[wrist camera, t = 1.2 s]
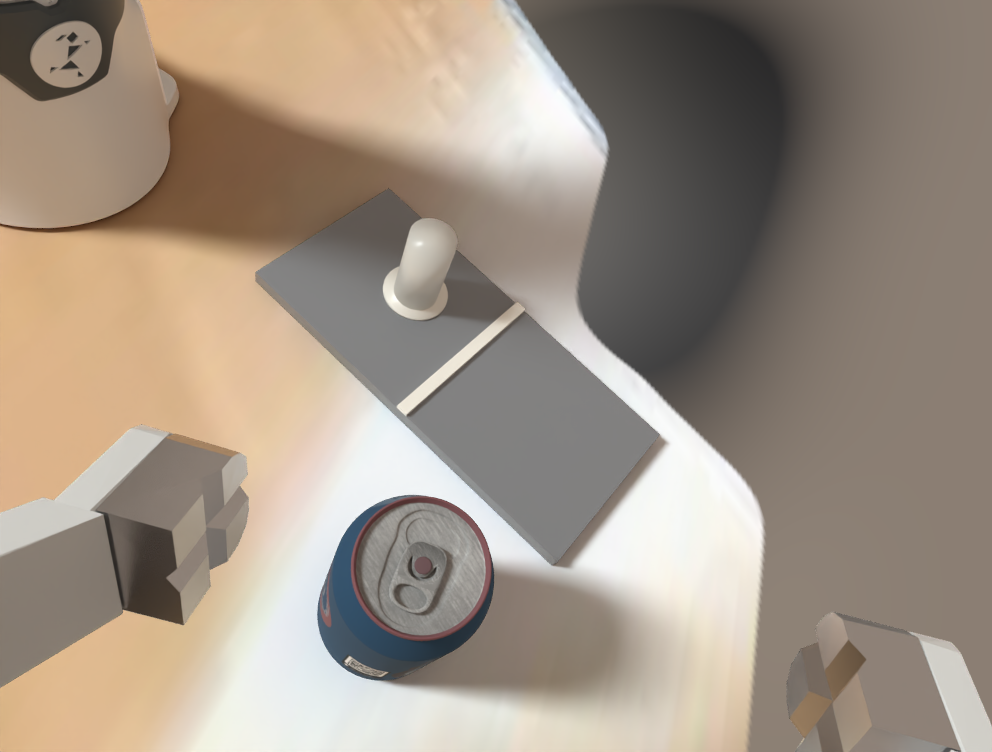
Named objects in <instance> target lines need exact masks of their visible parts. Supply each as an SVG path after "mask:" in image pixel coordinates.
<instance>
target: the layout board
mask: <svg viewBox="0 0 992 752" xmlns="http://www.w3.org/2000/svg"><path fill="white" fill-rule="evenodd" d="M457 246H458V237H457V235H456V233H455V231H454V230H453V228H452V227H451V226H450V225H448V224H447V223H445V222H443V221H441V220H439V219H435V218H424V219H422V218H421V217H420V216H419V215H418V214H417V213H415V212H414V211H413V210H412V209H411V208H410V207H409V206H408V205H407V204H406V203H404V202H403V201H402V200H401V199H400V198H399V197H398V196H397V195H396V194H395V193H393V192H392V191H391V190H390V189H389V188H388V189H387V190H385V191H384V192H382V193H380V194H379V195H377V196H376V197H374V198H372V199H371V200H369V201H368V202H366V203H364V204H363V205H361V206H360V207H358V208H357V209H355V210H353V211H352V212H350V213H349V214H347V215H345V216H344V217H342V218H341V219H339V220H337V221H336V222H334V223H333V224H331V225H330V226H328V227H326V228H325V229H323V230H322V231H320V232H318V233H317V234H315V235H314V236H312V237H310V238H309V239H307V240H306V241H304V242H303V243H301V244H299V245H298V246H296V247H295V248H293V249H291V250H290V251H288V252H287V253H285V254H283V255H282V256H280V257H279V258H277V259H276V260H274V261H272V262H271V263H269V264H268V265H266V266H264V267H263V268H261V269H260V270H258V271H256V282H257V283H258V284H259V285H260V286H261V287H262V288H263V289H264V290H266V291H267V292H268V293H269V294H270V295H271V296H272V297H273V298H274V299H275V300H276V301H277V302H278V303H279V304H280V305H281V306H282V307H283V308H284V309H285V310H286V311H287V312H288V313H289V314H290V315H292V316H293V317H294V318H295V319H296V320H297V321H298V322H299V323H300V324H301V325H302V326H303V327H304V328H305V329H306V330H307V331H308V332H309V333H310V334H311V335H312V336H313V337H314V338H315V339H317V340H318V341H319V342H320V343H321V344H322V345H323V346H324V347H325V348H326V349H327V350H328V351H329V352H330V353H331V354H332V355H333V356H334V357H335V358H336V359H337V360H338V361H339V362H340V363H341V364H343V365H344V366H345V367H346V368H347V369H348V370H349V371H350V372H351V373H352V374H353V375H354V376H355V377H356V378H357V379H358V380H359V381H360V382H361V383H362V384H363V385H364V386H365V387H366V388H367V389H369V390H370V391H371V392H372V393H373V394H374V395H375V396H376V397H377V398H378V399H379V400H380V401H381V402H382V403H383V404H384V405H385V406H386V407H387V408H388V409H389V410H390V411H391V412H392V413H394V414H395V415H396V416H397V417H398V418H399V419H400V420H401V421H402V422H403V423H404V424H405V425H406V426H407V427H408V428H409V429H410V430H411V431H412V432H413V433H414V434H415V435H416V436H417V437H418V438H420V439H421V440H422V441H423V442H424V443H425V444H426V445H427V446H428V447H429V448H430V449H431V450H432V451H433V452H434V453H435V454H436V455H437V456H438V457H439V458H440V459H441V460H442V461H443V462H445V463H446V464H447V465H448V466H449V467H450V468H451V469H452V470H453V471H454V472H455V473H456V474H457V475H458V476H459V477H460V478H461V479H462V480H463V481H464V482H465V483H466V484H467V485H468V486H469V487H471V488H472V489H473V490H474V491H475V492H476V493H477V494H478V495H479V496H480V497H481V498H482V499H483V500H484V501H485V502H486V503H487V504H488V505H489V506H490V507H491V508H492V509H493V510H494V511H495V512H497V513H498V514H499V515H500V516H501V517H502V518H503V519H504V520H505V521H506V522H507V523H508V524H509V525H510V526H511V527H512V528H513V529H514V530H515V531H516V532H517V533H518V534H519V535H520V536H522V537H523V538H524V539H525V540H526V541H527V542H528V543H529V544H530V545H531V546H532V547H533V548H534V549H535V550H536V551H537V552H538V553H539V554H540V555H541V556H542V557H543V558H544V559H545V560H546V561H548V562H549V563H550V564H551V565H553V564H555V563H556V562H558V561H559V559H560V558H561V557H562V556H563V554H564V553H565V552H566V551H567V550H568V548H569V547H570V546H571V545H572V543H573V542H574V541H575V540H576V538H577V537H578V536H579V535H580V533H581V532H582V531H583V530H584V528H585V527H586V526H587V525H588V523H589V522H590V521H591V520H592V518H593V517H594V516H595V515H596V513H597V512H598V511H599V510H600V509H601V507H602V506H603V505H604V504H605V502H606V501H607V500H608V499H609V497H610V496H611V495H612V494H613V492H614V491H615V490H616V489H617V487H618V486H619V485H620V484H621V482H622V481H623V480H624V479H625V477H626V476H627V475H628V474H629V472H630V471H631V470H632V469H633V467H634V466H635V465H636V464H637V463H638V461H639V460H640V459H641V458H642V456H643V455H644V454H645V453H646V451H647V450H648V449H649V448H650V446H651V445H652V444H653V443H654V441H655V440H656V439H657V438H658V436H659V435H660V434H659V433H657V432H656V431H655V430H654V429H653V428H652V427H651V426H650V425H649V424H648V423H646V422H645V421H644V420H643V419H642V418H641V417H640V416H639V415H638V414H637V413H635V412H634V411H633V410H632V409H631V408H630V407H629V406H628V405H627V404H626V403H624V402H623V401H622V400H621V399H620V398H619V397H618V396H617V395H616V394H615V393H613V392H612V391H611V390H610V389H609V388H608V387H607V386H606V385H605V384H604V383H602V382H601V381H600V380H599V379H598V378H597V377H596V376H595V375H594V374H593V373H591V372H590V371H589V370H588V369H587V368H586V367H585V366H584V365H583V364H582V363H580V362H579V361H578V360H577V359H576V358H575V357H574V356H573V355H572V354H571V353H569V352H568V351H567V350H566V349H565V348H564V347H563V346H562V345H561V344H560V343H558V342H557V341H556V340H555V339H554V338H553V337H552V336H551V335H550V334H549V333H547V332H546V331H545V330H544V329H543V328H542V327H541V326H540V325H539V324H538V323H536V322H535V321H534V320H533V319H532V318H531V317H530V316H529V315H528V314H527V313H525V312H524V311H525V308H524V307H523V306H522V305H521V304H519V303H518V302H516V303H514V302H513V301H512V300H511V299H510V298H509V297H508V296H507V295H506V294H505V293H503V292H502V291H501V290H500V289H499V288H498V287H497V286H496V285H495V284H494V283H492V282H491V281H490V280H489V279H488V278H487V277H486V276H485V275H484V274H483V273H481V272H480V271H479V270H478V269H477V268H476V267H475V266H474V265H473V264H472V263H470V262H469V261H468V260H467V259H466V258H465V257H464V256H463V255H462V254H461V253H459V252H458V251H457V250H456V249H457Z"/></svg>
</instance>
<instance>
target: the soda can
mask: <svg viewBox="0 0 992 752" xmlns="http://www.w3.org/2000/svg"><path fill="white" fill-rule="evenodd" d="M493 588H494V569H493V562H492V558H491V554H490V551H489V548H488V544H487V542H486V539H485V537H484V535H483V533H482V532H481V530H480V528H479V527H478V525H477V524H476V523H475V522H474V521H473V519H472V518H471V517H470V516H469V515H468V514H466V513H465V512H464V511H463V510H461V509H460V508H459V507H457V506H455V505H453V504H451V503H449V502H447V501H445V500H442V499H438V498H434V497H428V496H421V495H404V496H398V497H393V498H390V499H387V500H384V501H382V502H379V503H377V504H375V505H374V506H372V507H370V508H369V509H367V510H366V511H364V512H363V513H362V514H361V515H360V516H359V517H357V518H356V519H355V521H354V522H353V523H352V524H351V525H350V527H349V528H348V529H347V531H346V532H345V534H344V536H343V537H342V539H341V541H340V544H339V546H338V548H337V551H336V554H335V556H334V559H333V561H332V564H331V567H330V569H329V572H328V574H327V577H326V580H325V582H324V585H323V588H322V590H321V593H320V597H319V602H318V612H317V616H318V626H319V631H320V634H321V637H322V640H323V642H324V645H325V647H326V648H327V650H328V652H329V653H330V654H331V656H332V657H333V658H334V659H335V660H336V661H337V663H338V664H340V665H341V666H342V667H343V668H345V669H346V670H348V671H349V672H351V673H353V674H355V675H357V676H360V677H362V678H366V679H371V680H392V679H397V678H400V677H403V676H406V675H408V674H410V673H412V672H414V671H416V670H418V669H420V668H422V667H424V666H425V665H427V664H429V663H431V662H433V661H435V660H437V659H439V658H441V657H443V656H444V655H446V654H448V653H450V652H452V651H454V650H455V649H457V648H458V647H460V646H461V645H462V644H464V643H465V642H466V641H467V640H468V639H469V638H470V637H471V636H472V635H473V634H474V633H475V632H476V630H477V629H478V628H479V626H480V625H481V623H482V621H483V620H484V618H485V616H486V614H487V611H488V609H489V606H490V603H491V599H492V595H493Z"/></svg>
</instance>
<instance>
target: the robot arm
mask: <svg viewBox="0 0 992 752" xmlns="http://www.w3.org/2000/svg"><path fill="white" fill-rule="evenodd" d="M178 100H179V91H178V88H177V84H176V81H175V80H174V78H173V77H172V76H170V75H169V74H168V73H166V72H165V71H163V70H161V69H160V68H158V65H157V61H156V57H155V53H154V49H153V45H152V41H151V37H150V33H149V30H148V26H147V22H146V18H145V14H144V11H143V8H142V5H141V3H140V1H139V0H0V223H1V224H5V225H11V226H18V227H28V228H57V227H67V226H74V225H80V224H85V223H89V222H93V221H96V220H100V219H103V218H106V217H108V216H111V215H113V214H116V213H118V212H120V211H122V210H124V209H126V208H127V207H129V206H131V205H132V204H134V203H135V202H137V201H138V200H140V199H141V198H142V197H143V196H145V195H146V194H147V193H148V192H149V191H150V190H151V189H152V188H153V187H154V186H155V184H156V183H157V182H158V180H159V179H160V178H161V176H162V174H163V172H164V170H165V168H166V166H167V163H168V159H169V155H170V136H169V118H170V116H171V115H172V113H173V111H174V109H175V107H176V105H177V103H178ZM247 475H248V472H247V460H246V456H244V455H243V454H241V453H239V452H236V451H232V450H229V449H226V448H222V447H219V446H216V445H212V444H209V443H205V442H202V441H199V440H195V439H192V438H189V437H185V436H182V435H178V434H173V433H169V432H166V431H163V430H159V429H156V428H152V427H149V426H146V425H142V424H141V425H139V426H136V427H133V428H131V429H129V430H128V431H127V432H126V433H125V434H124V435H123V436H122V437H120V438H119V439H118V440H117V441H116V442H115V443H114V444H113V445H112V446H111V447H110V448H109V449H108V450H107V451H106V452H104V453H103V454H102V455H101V456H100V457H99V458H98V459H97V460H96V461H95V462H94V463H93V464H92V465H91V466H90V467H89V468H87V469H86V470H85V471H84V472H83V473H82V474H81V475H80V476H79V477H78V478H77V479H76V480H75V481H74V482H73V483H71V484H70V485H69V486H68V487H67V488H66V489H65V490H64V491H63V492H62V493H61V494H60V495H59V496H58V497H57V498H56V499H54V500H51V499H47V498H40V499H38V500H35V501H32V502H29V503H26V504H24V505H21V506H18V507H15V508H12V509H10V510H7V511H4V512H1V513H0V688H1V687H2V686H4V685H6V684H7V683H9V682H11V681H12V680H14V679H16V678H17V677H19V676H21V675H22V674H24V673H26V672H27V671H29V670H30V669H32V668H34V667H35V666H37V665H39V664H40V663H42V662H44V661H45V660H47V659H49V658H50V657H52V656H54V655H55V654H57V653H59V652H60V651H62V650H63V649H65V648H67V647H68V646H70V645H72V644H73V643H75V642H77V641H78V640H80V639H82V638H83V637H85V636H87V635H88V634H90V633H92V632H93V631H95V630H96V629H98V628H100V627H101V626H103V625H105V624H106V623H108V622H110V621H111V620H113V619H115V618H116V617H118V616H120V615H121V614H122V613H123V610H126V611H130V612H134V613H138V614H142V615H146V616H150V617H154V618H157V619H161V620H165V621H169V622H173V623H177V624H181V625H184V624H185V623H186V621H187V620H188V618H189V617H190V616H191V614H192V613H193V611H194V610H195V608H196V607H197V605H198V604H199V602H200V601H201V600H202V598H203V597H204V595H205V594H206V592H207V591H208V589H209V588H210V586H211V585H210V570H211V569H213V568H215V567H217V566H219V565H221V564H223V563H225V562H227V561H228V560H229V558H230V557H231V555H232V554H233V552H234V551H235V549H236V547H237V546H238V544H239V542H240V539H241V537H242V534H243V532H244V529H245V527H246V523H247V517H248V512H249V498H248V496H247V495H246V494H245V492H244V491H243V490H242V488H241V487H240V484H241V483H242V482H243V480H244V479H245V477H246V476H247ZM815 629H816V634H817V639H818V642H817V643H814V644H812V645H809V646H806V647H804V648H801V649H800V651H799V653H798V654H797V656H796V658H795V659H794V661H793V662H792V664H791V668H790V672H789V676H788V680H787V706H788V713H789V719H790V720H791V721H792V723H793V724H794V725H795V727H796V728H797V729H798V731H799V732H800V733H801V735H802V736H803V737H804V739H803V740H802V742H801V743H800V745H799V746H798V748H797V749H796V751H795V752H992V725H991V723H990V720H989V718H988V716H987V713H986V711H985V709H984V707H983V704H982V702H981V700H980V697H979V695H978V693H977V691H976V688H975V686H974V683H973V681H972V679H971V676H970V674H969V672H968V669H967V667H966V665H965V662H964V660H963V658H962V655H961V653H960V652H959V650H958V649H957V648H956V647H955V646H954V645H953V644H952V643H951V642H948V641H944V640H940V639H937V638H933V637H928V636H925V635H921V634H917V633H914V632H907V631H905V630H902V629H898V628H894V627H890V626H887V625H883V624H879V623H875V622H871V621H867V620H863V619H859V618H856V617H851V616H848V615H843V614H840V613H836V612H831V613H829V614H827V615H826V616H824V617H823V618H822V619H821V621H820V622H819V624H818V625H817V626H816V628H815Z"/></svg>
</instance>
